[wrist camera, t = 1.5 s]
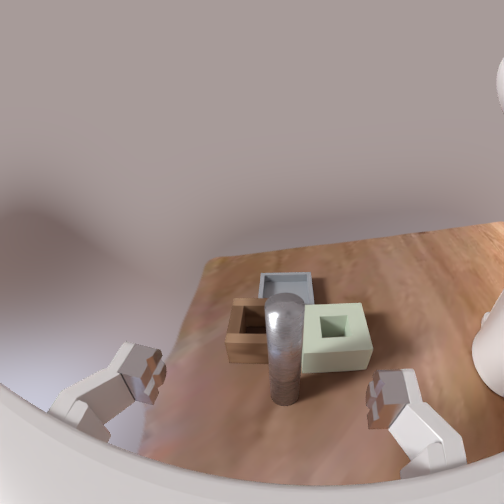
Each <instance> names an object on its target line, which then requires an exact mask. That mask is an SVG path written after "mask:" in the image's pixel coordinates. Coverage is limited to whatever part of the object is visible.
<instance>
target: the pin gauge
mask: <svg viewBox="0 0 504 504" xmlns="http://www.w3.org/2000/svg"><path fill="white" fill-rule="evenodd" d="M304 314H305V303H304V301H303V299H302V298H301V297H299V296H298V295H296V294H293V293H278V294H275V295H273V296H271V297H269V298H268V299H267V301H266V302H265V320H266V334H267V348H268V362H269V376H270V391H271V398H272V400H273V401H274V402H275V403H276V404H278V405H281V406H288V405H291V404H293V403H295V402H296V401H297V399H298V397H299V388H300V376H301V363H302V349H303V333H304Z"/></svg>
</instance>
